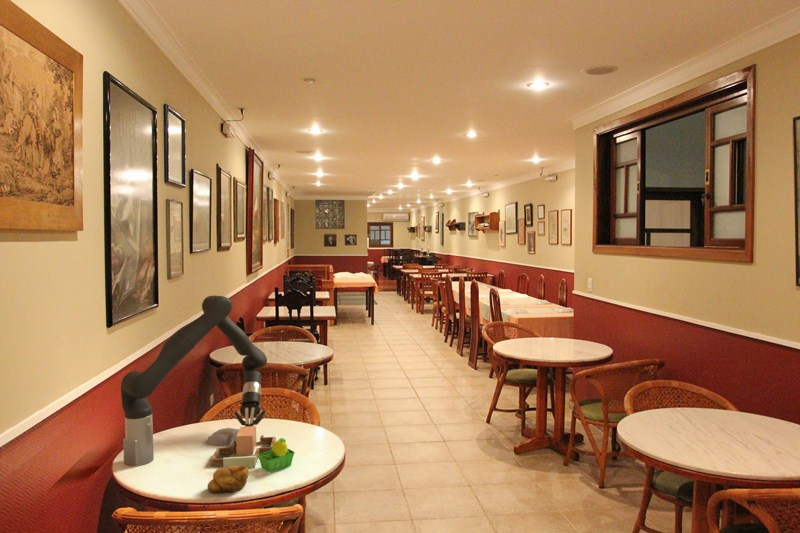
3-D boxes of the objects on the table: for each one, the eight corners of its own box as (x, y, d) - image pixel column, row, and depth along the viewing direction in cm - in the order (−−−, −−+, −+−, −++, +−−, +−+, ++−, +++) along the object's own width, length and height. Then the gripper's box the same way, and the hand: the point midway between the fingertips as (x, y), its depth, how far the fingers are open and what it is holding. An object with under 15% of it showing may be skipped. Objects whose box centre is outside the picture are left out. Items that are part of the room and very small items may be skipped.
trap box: (223, 443, 229) (222, 437, 229) (276, 440, 231) (276, 434, 231) (209, 469, 203) (209, 462, 203) (269, 466, 205) (269, 459, 205)
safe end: (223, 468, 204) (223, 457, 203) (255, 466, 205) (255, 456, 205) (223, 469, 203) (223, 458, 202) (255, 468, 204) (254, 457, 204)
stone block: (205, 449, 228) (228, 445, 226) (203, 437, 228) (226, 433, 226) (220, 439, 240) (242, 436, 238) (218, 428, 240) (240, 425, 238)
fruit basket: (284, 459, 211) (283, 429, 211) (298, 466, 205) (297, 435, 204) (256, 468, 203) (256, 437, 203) (270, 476, 197) (269, 444, 196)
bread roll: (208, 498, 181) (207, 473, 181) (206, 485, 190) (206, 462, 190) (249, 491, 186) (249, 467, 185) (246, 479, 195) (245, 456, 194)
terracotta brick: (241, 445, 226) (240, 426, 226) (256, 444, 227) (256, 426, 227) (236, 455, 215) (236, 436, 215) (252, 455, 216) (252, 435, 216)
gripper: (234, 391, 235) (230, 430, 223) (267, 390, 237) (264, 429, 225) (236, 400, 240) (232, 439, 229) (268, 398, 242) (266, 437, 231)
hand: (248, 434), depth 227 cm, fingers closed
